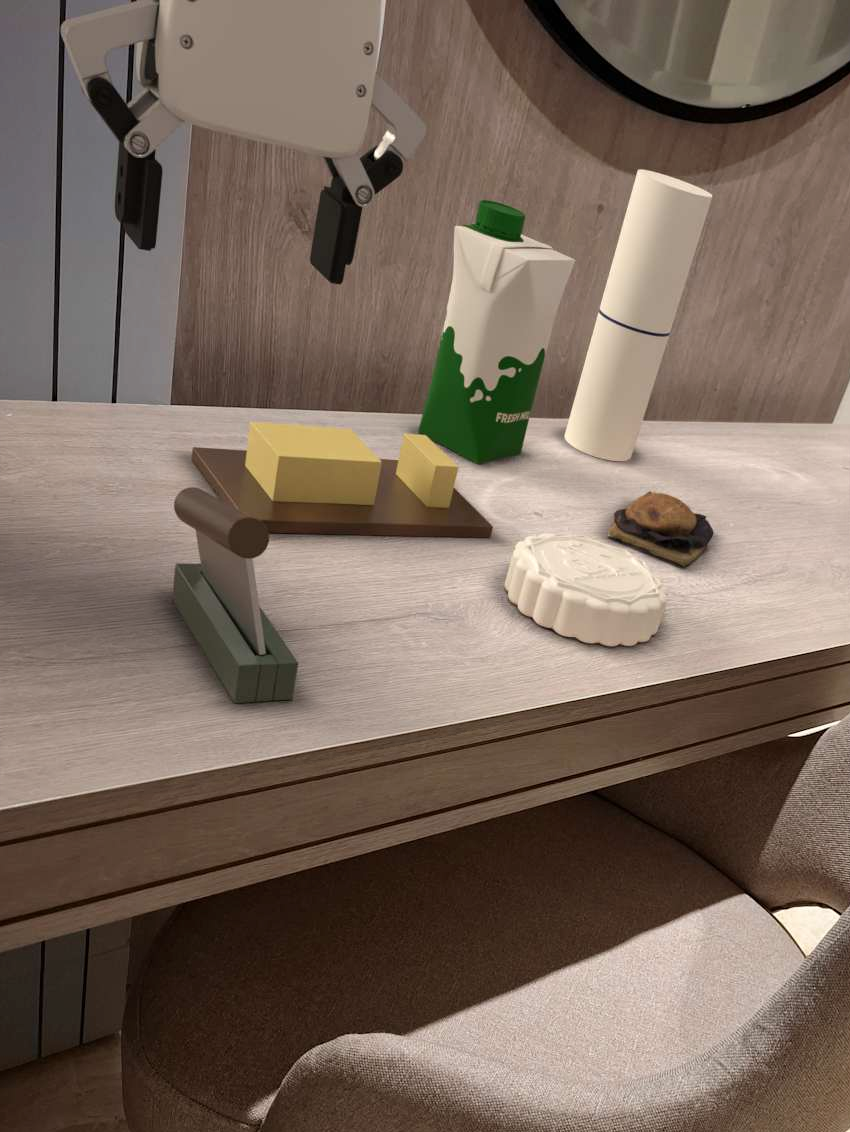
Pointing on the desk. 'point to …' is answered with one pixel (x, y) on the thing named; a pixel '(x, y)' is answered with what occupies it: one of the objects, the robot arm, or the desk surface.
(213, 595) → the holder
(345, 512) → the butter board
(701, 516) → the open sandwich
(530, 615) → the mooncake
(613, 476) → the desk surface
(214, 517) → the butter cutter
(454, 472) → the butter slice
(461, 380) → the milk carton
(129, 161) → the robot arm
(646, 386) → the cylindrical container
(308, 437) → the butter block
